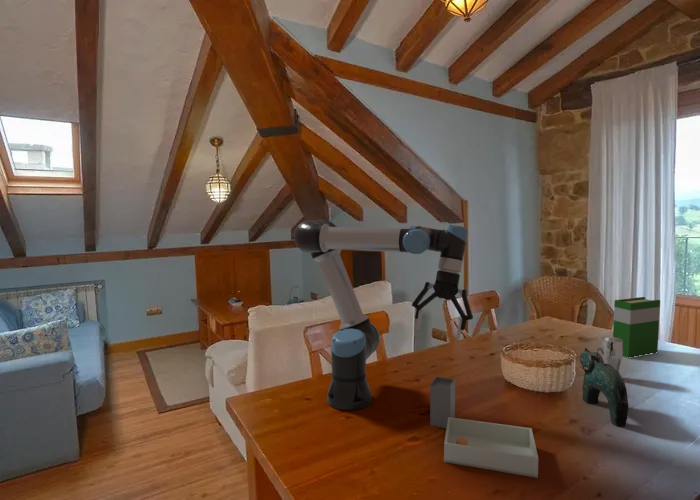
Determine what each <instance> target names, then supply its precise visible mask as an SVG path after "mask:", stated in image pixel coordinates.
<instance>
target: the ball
mask: <svg viewBox="0 0 700 500" xmlns="http://www.w3.org/2000/svg"><path fill="white" fill-rule="evenodd" d="M456 444H459V445H466V446H467V445H468V442H467V440H466V439H465V438H464V437H459V438H457V440H456Z"/></svg>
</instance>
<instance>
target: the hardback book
mask: <svg viewBox="0 0 700 500" xmlns="http://www.w3.org/2000/svg"><path fill="white" fill-rule="evenodd" d="M613 306H614V307H613V329H612V331H613V332H612V337H614V338H619V339H621V340H623V356H625V357H628V358H629V357H634V356H639V355H645V354H650V353H656V352H657V353H658V348H659V347H658V345H659V332H660V314H661V313H660V311H661V300H660V299H653V300H652V299H646V297H645V296H641V297H631V298H623V299H614V305H613ZM625 357H624V358H625ZM628 358H627V359H628Z"/></svg>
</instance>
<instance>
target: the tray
mask: <svg viewBox="0 0 700 500" xmlns="http://www.w3.org/2000/svg"><path fill="white" fill-rule="evenodd" d="M459 437H464V438H465V439H466V440H467V442H468V445H467V446H466V445H459V444H456V440H457V438H459ZM443 442H444V444H443V451H444V452H443V453H444V454H443V463H447V464H453V465H459V466H465V467H471V468H477V469H482V470H483V469H484V470H490V471H495V472H501V473H506V474H513V475H518V476H525V477H529V478H536V479H538V478H539V455H538V451H537V450H538V449H537V446H536V442H535V438H534V434H533V428H531V427H524V426H517V425H511V424H501V423H496V422H495V423H494V422H487V421H479V420H473V419H465V418H458V417H455V418H452V417H448V423H447V429H446V428H445V437H444V441H443Z"/></svg>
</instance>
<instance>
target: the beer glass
mask: <svg viewBox="0 0 700 500" xmlns="http://www.w3.org/2000/svg"><path fill="white" fill-rule="evenodd" d="M600 348H601V349H602V350H603V352H604V355H603V353H602V352H601V351H600V352H601V354H600V355H601V357H602V359H603V361H604V363H605V364H610V365H611V366H612V367H614V368H615V369H616V370H617V371H618V372H619V374H620V375H621V372H620V370H621V369H620V368H621V364H622V360H623V358H624V357H623V340H621V339H619V338H614V337H613V336H603V337H602V339H601V346H600Z"/></svg>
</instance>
